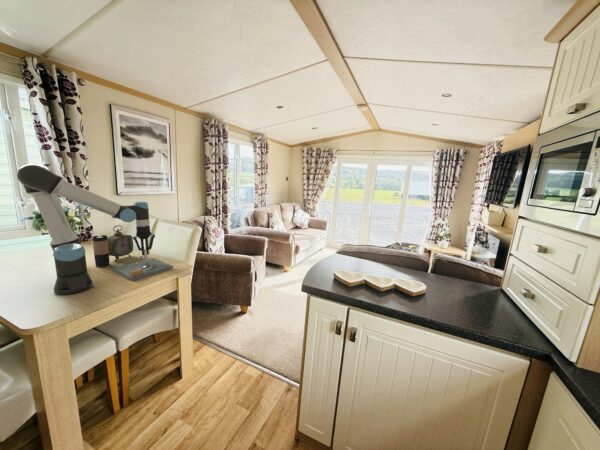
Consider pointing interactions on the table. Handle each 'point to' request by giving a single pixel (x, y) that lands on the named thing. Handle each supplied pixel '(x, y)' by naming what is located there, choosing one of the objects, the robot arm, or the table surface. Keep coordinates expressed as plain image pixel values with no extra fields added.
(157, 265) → the panel
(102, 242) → the travel mug
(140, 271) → the screwdriver
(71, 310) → the table surface
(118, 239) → the tabletop clock
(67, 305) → the table surface
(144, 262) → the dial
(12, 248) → the table surface
